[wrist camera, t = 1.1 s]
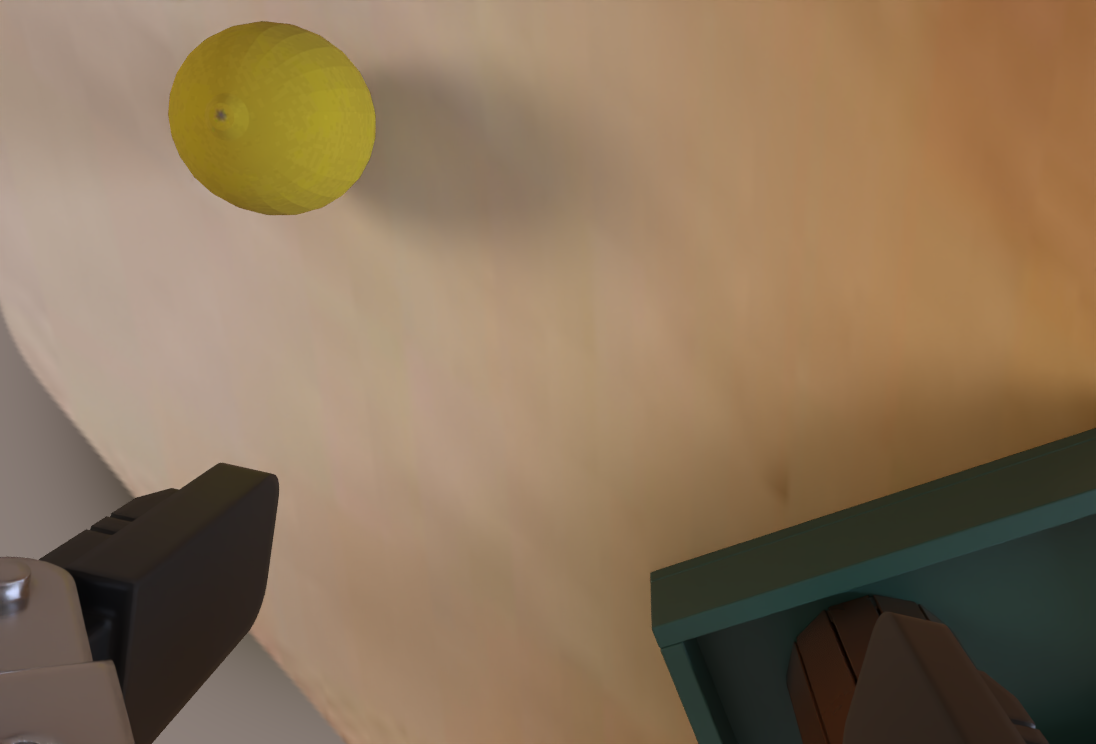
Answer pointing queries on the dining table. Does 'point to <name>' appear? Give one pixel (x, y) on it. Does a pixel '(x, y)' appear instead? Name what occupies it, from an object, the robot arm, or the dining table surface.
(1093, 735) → the green tray
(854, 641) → the cup
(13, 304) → the dining table surface
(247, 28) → the lemon
